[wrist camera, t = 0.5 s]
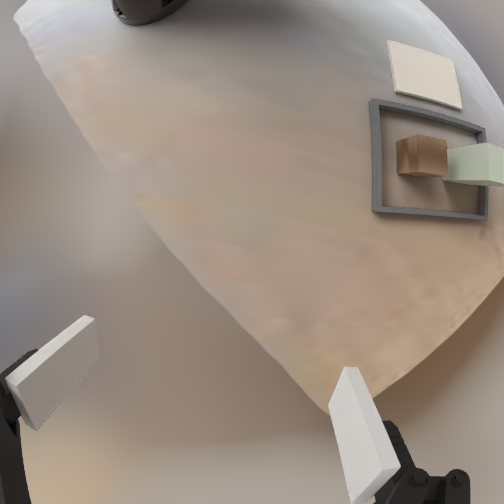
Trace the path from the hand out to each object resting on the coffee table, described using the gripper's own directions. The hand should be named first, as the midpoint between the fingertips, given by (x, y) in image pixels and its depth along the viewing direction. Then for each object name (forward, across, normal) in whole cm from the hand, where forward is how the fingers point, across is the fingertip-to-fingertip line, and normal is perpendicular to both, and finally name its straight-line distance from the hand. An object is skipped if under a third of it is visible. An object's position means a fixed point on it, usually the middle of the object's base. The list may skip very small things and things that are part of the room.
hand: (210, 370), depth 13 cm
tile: (+28, +24, +35) cm, 51 cm away
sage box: (+28, +32, +20) cm, 47 cm away
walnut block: (+28, +22, +18) cm, 40 cm away
